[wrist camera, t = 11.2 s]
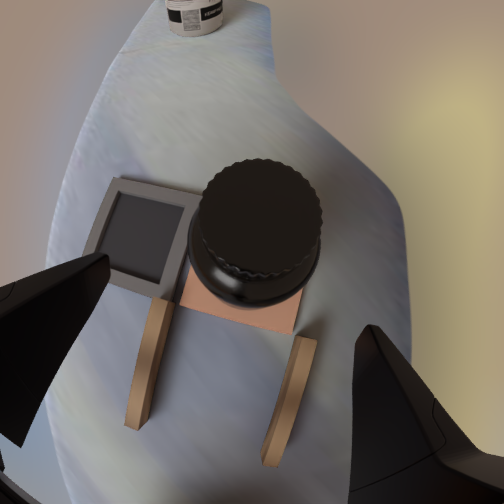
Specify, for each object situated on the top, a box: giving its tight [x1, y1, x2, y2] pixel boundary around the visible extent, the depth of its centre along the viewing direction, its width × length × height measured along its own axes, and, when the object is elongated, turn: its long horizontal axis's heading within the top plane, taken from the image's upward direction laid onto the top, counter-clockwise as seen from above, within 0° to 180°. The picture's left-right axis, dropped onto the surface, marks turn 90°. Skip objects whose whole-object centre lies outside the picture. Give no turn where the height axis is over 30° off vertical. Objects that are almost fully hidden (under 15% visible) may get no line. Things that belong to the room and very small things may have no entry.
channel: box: [124, 296, 318, 467], centre depth 19 cm, size 11×12×2 cm
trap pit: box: [82, 177, 202, 302], centre depth 22 cm, size 9×9×1 cm
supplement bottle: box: [187, 158, 323, 311], centre depth 16 cm, size 7×7×12 cm
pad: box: [180, 265, 303, 335], centre depth 22 cm, size 9×9×1 cm
